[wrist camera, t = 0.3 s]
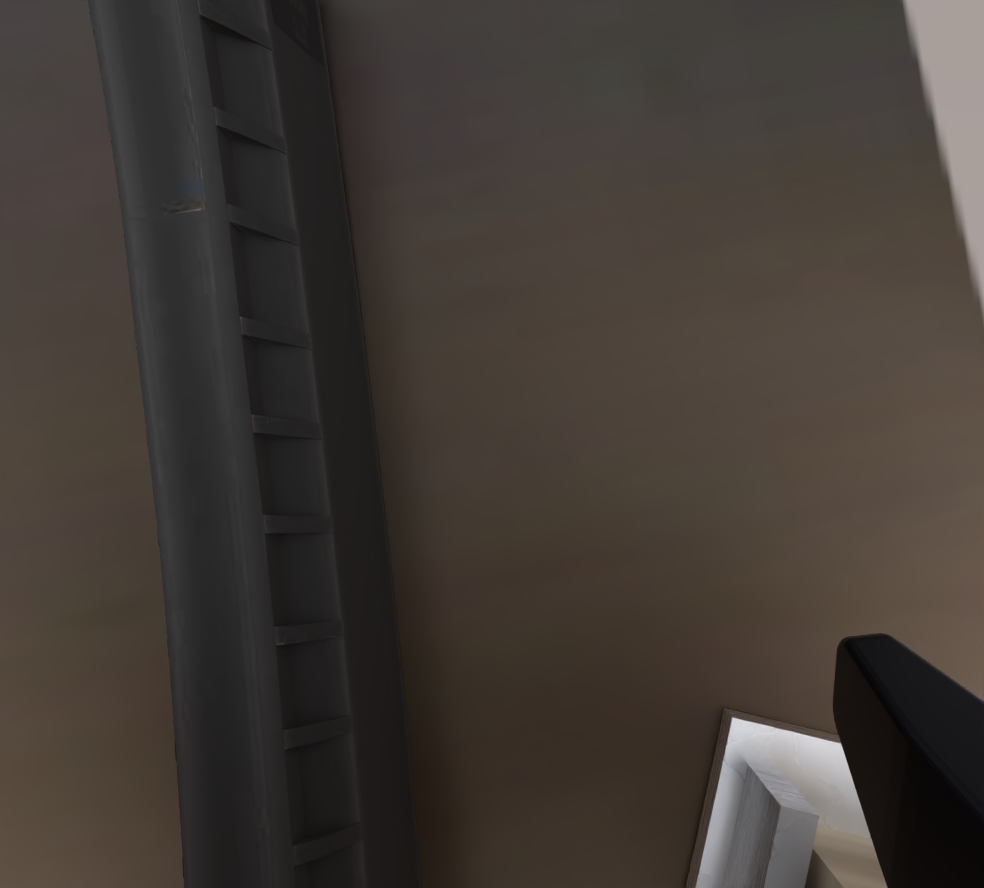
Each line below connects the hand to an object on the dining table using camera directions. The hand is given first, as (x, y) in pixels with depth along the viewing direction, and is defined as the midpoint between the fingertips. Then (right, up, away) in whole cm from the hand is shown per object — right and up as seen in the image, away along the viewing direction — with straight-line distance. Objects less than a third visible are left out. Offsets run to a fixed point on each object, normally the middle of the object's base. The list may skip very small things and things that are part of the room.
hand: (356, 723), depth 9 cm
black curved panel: (-3, -1, +16) cm, 16 cm away
